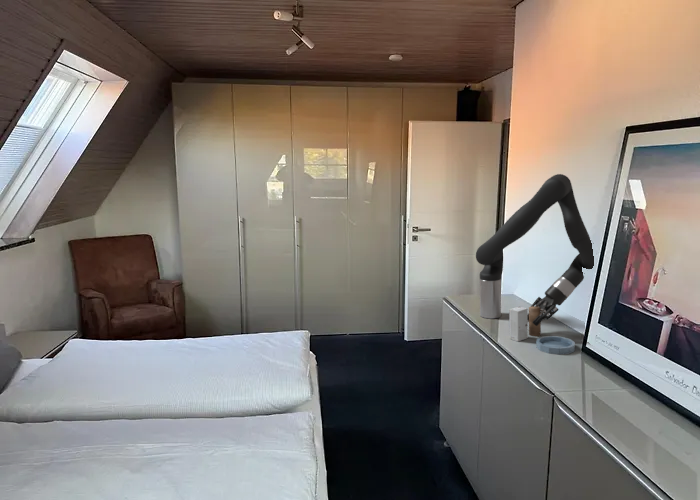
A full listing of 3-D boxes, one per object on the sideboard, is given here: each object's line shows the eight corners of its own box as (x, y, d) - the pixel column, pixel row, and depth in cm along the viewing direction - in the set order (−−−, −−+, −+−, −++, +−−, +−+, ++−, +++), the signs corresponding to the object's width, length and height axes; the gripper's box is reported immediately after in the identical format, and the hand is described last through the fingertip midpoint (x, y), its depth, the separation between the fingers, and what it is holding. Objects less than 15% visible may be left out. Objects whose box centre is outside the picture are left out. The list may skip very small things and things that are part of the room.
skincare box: (518, 341, 190) (518, 311, 188) (508, 338, 193) (508, 309, 191) (528, 338, 193) (528, 308, 191) (518, 335, 197) (518, 306, 195)
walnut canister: (527, 333, 199) (526, 307, 197) (537, 332, 199) (537, 306, 197) (532, 336, 194) (531, 310, 192) (542, 335, 195) (542, 309, 193)
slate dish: (530, 342, 188) (530, 337, 187) (563, 340, 189) (563, 334, 188) (546, 355, 175) (546, 349, 175) (581, 352, 176) (581, 346, 176)
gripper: (545, 280, 201) (516, 310, 202) (562, 289, 187) (532, 321, 188) (557, 292, 202) (529, 322, 203) (575, 301, 188) (545, 333, 189)
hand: (530, 321), depth 196 cm, fingers open, 6 cm apart
